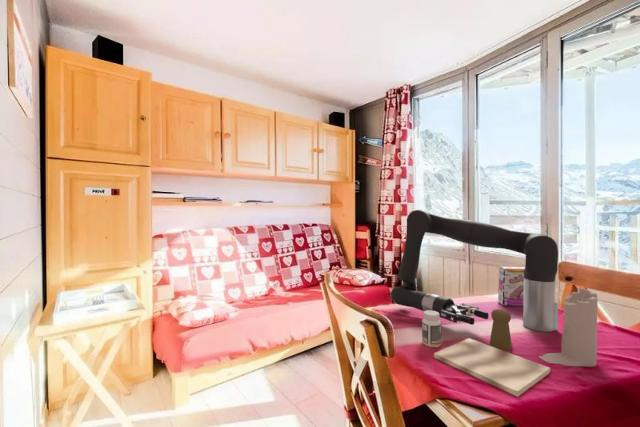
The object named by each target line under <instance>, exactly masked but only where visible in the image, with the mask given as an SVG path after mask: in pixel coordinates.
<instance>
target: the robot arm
mask: <svg viewBox="0 0 640 427" xmlns="http://www.w3.org/2000/svg"><path fill="white" fill-rule="evenodd" d="M405 233H406V234H405V235H406V236H405V242H404V243H405V244H404V249H403V253H402V257H401V262H400V267H399V270H398V271H399V272H398V279H399V280H400V281H402V282H403V283H402V286H396V287H394V288H392V289H391V292H390V298H391V301H392V302H393V303H394V304H396V305H399V306H403V307H408V308H413V309H417V310H418V311H419V310H420V311H422V312H424V311H427V310H431V311H436V312H438V313H439V319H440V318H441V319H444V320H447V321H449V322H452V323H454V324H455V323H458V322H459V323H464V324H465V323H466V324H468V325H472V326H473V325H475V318H474V317H477V318H480V319H485V320H489V315H490V314H489V312H487V311H483V310H480V307H478V306H476V305H472V304H468V303H461V304H455V302H454V300H453V299H452V298H450V297H446V296H442V295H438V294H435V293H428V292H425V291H420V290H417V281H416V280H417V275H418V271H419V265H420V257H421V249H422V243H423V239H424V237H425V234H426V233H427V234H434V235H440V236H443V237H447V238H449V239H452V240H455V241H457V242H460V243H463V244H468V245H471V246H476V247H483V248H489V249H490V248H492V249H504V250H509V251H513V252H516V253H519V254H523V255H525V265H524V267H525V269H524V288H523V306H522V308H523V310H522V312H523V313H522V325H523V326H524V327H526V328H528V329H531V330H533V331H538V332H545V333H546V332H547V333H550V332H554V331H558V330H559V329H558V328H559V327H558V326H559V303H558V302H557V301H556V277H557V276H556V275H557V274H558V263H559V262H558V260H559V249H558V248H559V247H558V243H557V242H556V241H555V239H553V238H552V237H550V236H549V235H545V234H543V233H534V232H532V233H531V232H523V231H515V230H510V229H507V228H503V227H500V226H496V225H493V224H489V223H486V222H481V221H476V220H472V219H463V218H453V217H451V218H450V217H444V216H440V215H436V214H433V213H430V212H427V211H424V210H421V209H415V210H413V211H411V212H410V213H408V215H407V217H406V232H405Z"/></svg>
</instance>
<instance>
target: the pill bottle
mask: <svg viewBox="0 0 640 427" xmlns="http://www.w3.org/2000/svg"><path fill="white" fill-rule="evenodd" d="M423 317H424V318H422V320H421V329H422V330H421V333H422V334H421V338H422V339H421V341H422V344H423V345H425V346H427V347H430V348H440V346H441V345H442V322H441V320H440V317H439V313H438V312H436V311H431V310H427V311H423Z"/></svg>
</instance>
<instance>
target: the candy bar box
mask: <svg viewBox="0 0 640 427" xmlns="http://www.w3.org/2000/svg"><path fill="white" fill-rule="evenodd" d="M524 269H525V266H524V267H523V266H521V267H520V266H499V267H498V288H497V289H498V297H497V301H498V302H497V303H498V304H500V305H501V306H505V307H523V288H524Z"/></svg>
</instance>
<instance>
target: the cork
mask: <svg viewBox="0 0 640 427" xmlns="http://www.w3.org/2000/svg"><path fill="white" fill-rule="evenodd" d="M490 315H491V319H492V326H491V327H492V328H491V333H490V338H489V339H490V340H489V346H492V347H495V348H497V349H500V350H503V351H511V350H513V344H512V338H511V331H510V324H509V323H510V322H511V319H512V316H511V314H510V312H508V311H507V310H504V309H498V308H497V309H494V310H492V312H491V314H490Z"/></svg>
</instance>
